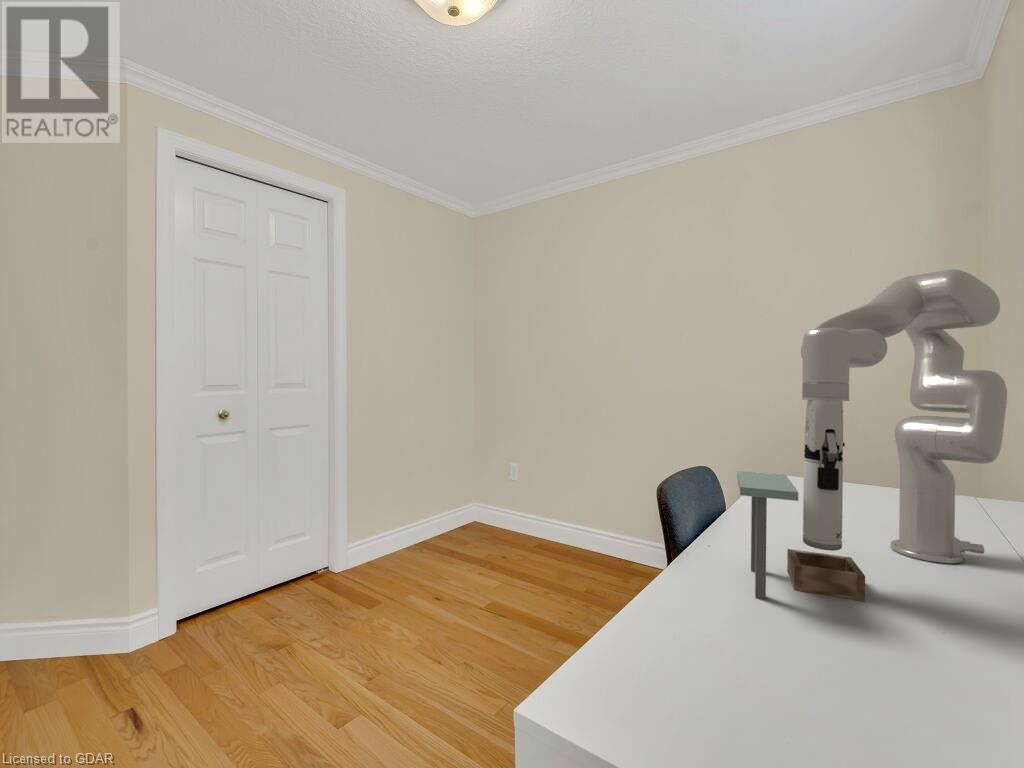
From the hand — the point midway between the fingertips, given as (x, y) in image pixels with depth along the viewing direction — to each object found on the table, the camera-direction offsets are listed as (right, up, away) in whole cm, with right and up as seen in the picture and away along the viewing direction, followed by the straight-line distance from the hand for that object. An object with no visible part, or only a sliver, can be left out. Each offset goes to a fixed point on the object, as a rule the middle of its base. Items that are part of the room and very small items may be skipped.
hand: (823, 484), depth 90 cm
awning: (-12, -19, +1) cm, 23 cm away
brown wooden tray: (0, -19, 0) cm, 19 cm away
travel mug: (0, -12, 0) cm, 12 cm away
